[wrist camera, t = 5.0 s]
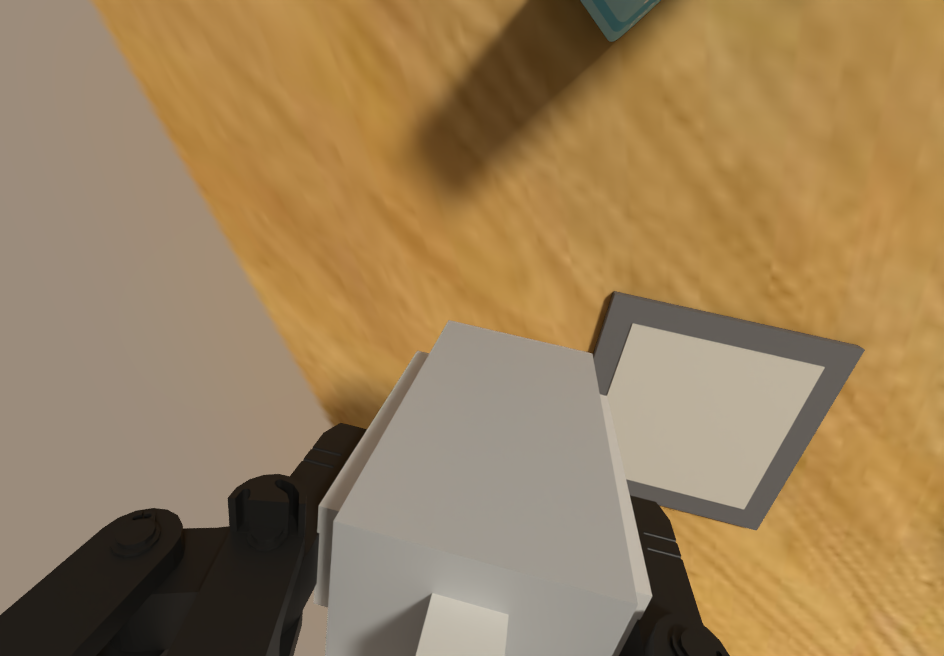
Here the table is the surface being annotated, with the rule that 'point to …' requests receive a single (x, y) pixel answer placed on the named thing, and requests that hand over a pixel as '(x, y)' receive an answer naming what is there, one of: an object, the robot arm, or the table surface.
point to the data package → (617, 14)
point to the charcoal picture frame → (713, 404)
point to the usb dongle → (485, 513)
